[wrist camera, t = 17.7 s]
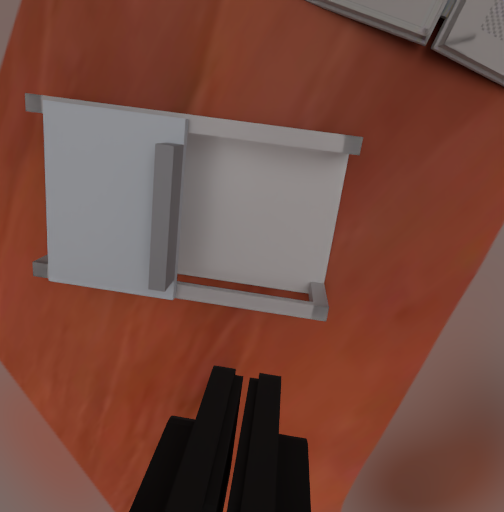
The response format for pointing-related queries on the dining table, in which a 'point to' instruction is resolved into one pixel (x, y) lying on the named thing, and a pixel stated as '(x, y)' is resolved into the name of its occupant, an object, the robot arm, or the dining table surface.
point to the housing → (252, 209)
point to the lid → (114, 197)
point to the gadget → (450, 34)
